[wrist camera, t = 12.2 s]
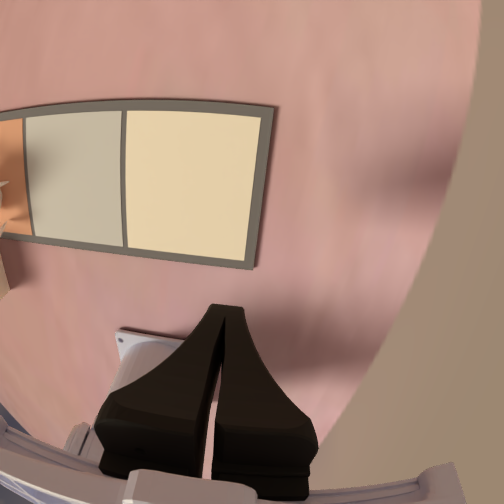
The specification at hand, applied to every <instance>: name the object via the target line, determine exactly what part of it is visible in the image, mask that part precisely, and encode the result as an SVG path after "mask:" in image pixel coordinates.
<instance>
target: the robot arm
mask: <svg viewBox="0 0 504 504" xmlns="http://www.w3.org/2000/svg"><path fill="white" fill-rule="evenodd" d="M115 337H116V342H117V347H118V351H119V356H120V360H121V364H120V366H119V368H118V371H117V373H116V375H115V377H114V380H113V382H112V384H111V387H110V389H109V391H108V394H107V396H106V398H105V401H104V403H103V405H102V407H101V409H100V411H99V413H98V415H97V416H96V418H95V420H94V423H93V425H92V428H91V429H90V425H89V424H87V423H85V422H83V423H82V424H79V425H75V426H74V427H73V429H72V431H71V433H70V435H69V437H68V439H67V441H66V443H65V446H64V448H63V450H62V449H60V448H57V447H54V446H52V445H50V444H47V443H45V442H42V441H40V440H38V439H35V438H33V437H31V436H29V435H26V434H24V433H22V432H20V431H18V430H16V429H14V428H12V427H10V426H8V425H7V423H6V421H5V420H4V418H2V416H1V415H0V484H2V485H3V486H5V487H6V488H8V489H10V490H11V491H13V492H15V493H16V494H18V495H20V496H22V497H23V498H25V499H27V500H29V501H31V502H32V503H35V504H466V501H465V497H464V494H463V490H462V487H461V484H460V481H459V478H458V475H457V472H456V469H455V466H454V463H453V462H449V463H446V464H442V465H438V466H433V467H431V468H428V469H426V470H425V471H423V472H422V473H421V474H420V475H419V476H418V477H416V478H412V479H407V480H401V481H396V482H390V483H384V484H377V485H369V486H361V487H352V488H341V489H328V490H309V483H308V477H309V476H310V466H309V465H310V463H311V462H312V460H313V459H314V457H315V456H316V454H317V452H318V449H319V448H318V440H317V436H316V433H315V430H314V427H313V424H312V422H311V419H310V418H309V417H308V416H307V415H305V414H304V413H303V412H302V411H301V410H300V409H299V408H298V407H297V406H296V405H295V404H294V403H293V402H292V401H291V400H290V399H289V398H288V397H287V396H286V394H285V393H284V392H283V391H282V389H281V388H280V387H279V386H278V384H277V383H276V382H275V381H274V379H273V378H272V376H271V375H270V373H269V372H268V370H267V368H266V367H265V365H264V363H263V362H262V360H261V358H260V356H259V354H258V352H257V350H256V347H255V345H254V343H253V340H252V338H251V335H250V332H249V330H248V326H247V323H246V319H245V313H244V309H243V308H242V307H238V306H229V305H220V304H211V305H210V306H209V308H208V310H207V312H206V313H205V315H204V316H203V318H202V319H201V321H200V322H199V324H198V325H197V326H196V327H195V329H194V330H193V331H192V333H191V334H190V335H189V336H188V337H187V338H186V339H185V340H179V339H173V338H166V337H160V336H154V335H148V334H142V333H137V332H131V331H126V330H120V329H119V330H117V331H116V333H115ZM120 338H121V339H120ZM122 339H123V340H122ZM221 362H222V366H221ZM220 367H221V386H220V392H219V399H218V405H217V411H216V417H215V428H214V449H213V460H212V469H211V472H212V474H211V480H209V479H203V478H202V472H203V463H204V454H205V446H206V438H207V430H208V422H209V414H210V408H211V403H212V399H213V395H214V391H215V387H216V383H217V379H218V375H219V371H220Z"/></svg>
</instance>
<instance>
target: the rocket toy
mask: <svg viewBox="0 0 504 504" xmlns="http://www.w3.org/2000/svg"><path fill="white" fill-rule="evenodd" d="M9 182H10V181H3V182H0V187H1V186H3V185H5V184H7V183H9ZM1 204H2V192H1V189H0V208H1ZM6 224H7V221H6V222H5V223H4V224H3V225H2V226H1V227H0V236H1V234H2V232H3V230H4V228H5V226H6Z"/></svg>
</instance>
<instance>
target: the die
mask: <svg viewBox="0 0 504 504" xmlns="http://www.w3.org/2000/svg"><path fill="white" fill-rule="evenodd" d="M9 291H10V287H9V284H8V281H7V277H6V273H5V270H4V266H3V262H2V258H1V254H0V300H1V299H2V298H3V297H4V296H5V295H6V294H7V293H8V292H9Z"/></svg>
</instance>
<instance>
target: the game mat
mask: <svg viewBox="0 0 504 504" xmlns="http://www.w3.org/2000/svg"><path fill="white" fill-rule="evenodd" d="M273 112H274V108H271V107H263V106H254V105H244V104H233V103H221V102H206V101H185V100H116V101H95V102H81V103H69V104H59V105H50V106H42V107H34V108H27V109H21V110H15V111H9V112H3V113H0V182H3V181H10V182H9V183H7V184H5V185H3V186H1V187H0V189H1V192H2V204H1V208H0V227H1V226H2V225H3V224H4V223H5V222H6V221H7V224H6V226H5V228H4V230H3V232H2V234H1V236H0V238H4V239H11V240H18V241H25V242H32V243H39V244H46V245H53V246H60V247H68V248H75V249H82V250H90V251H97V252H105V253H113V254H120V255H128V256H136V257H144V258H152V259H160V260H168V261H176V262H185V263H193V264H201V265H210V266H219V267H227V268H236V269H245V270H253V267H254V260H255V252H256V244H257V237H258V229H259V221H260V214H261V206H262V198H263V191H264V183H265V175H266V167H267V159H268V152H269V144H270V136H271V128H272V120H273Z"/></svg>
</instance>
